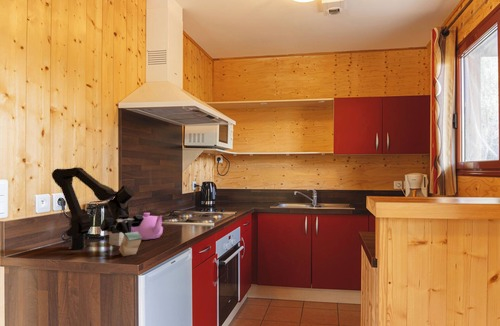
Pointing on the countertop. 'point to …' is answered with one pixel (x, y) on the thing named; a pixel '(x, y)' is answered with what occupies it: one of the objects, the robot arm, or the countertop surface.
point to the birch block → (130, 243)
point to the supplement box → (116, 238)
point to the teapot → (149, 227)
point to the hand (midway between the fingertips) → (129, 237)
